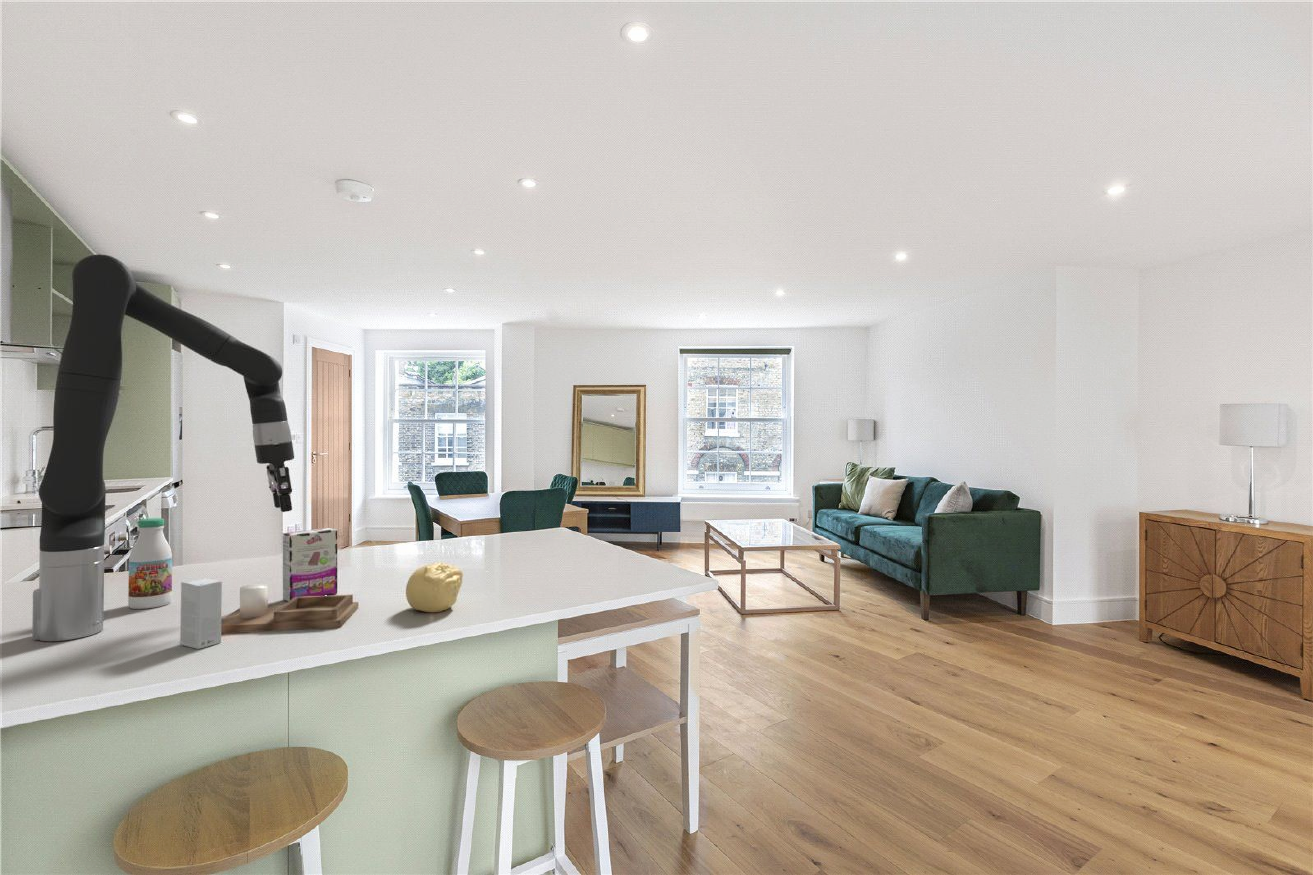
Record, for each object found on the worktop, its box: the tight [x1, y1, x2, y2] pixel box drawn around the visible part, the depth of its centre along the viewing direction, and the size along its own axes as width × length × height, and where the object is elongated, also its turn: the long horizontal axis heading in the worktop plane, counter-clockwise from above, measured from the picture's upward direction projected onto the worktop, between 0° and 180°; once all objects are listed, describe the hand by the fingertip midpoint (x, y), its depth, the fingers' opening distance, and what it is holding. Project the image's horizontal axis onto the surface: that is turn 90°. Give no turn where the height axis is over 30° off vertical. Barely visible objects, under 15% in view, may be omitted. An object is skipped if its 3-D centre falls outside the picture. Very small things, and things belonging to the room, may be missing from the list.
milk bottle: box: [127, 517, 173, 610], centre depth 139 cm, size 8×8×20 cm
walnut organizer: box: [221, 583, 359, 634], centre depth 130 cm, size 24×14×8 cm, turn 103°
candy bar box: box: [282, 527, 338, 603], centre depth 148 cm, size 11×5×16 cm, turn 143°
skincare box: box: [179, 577, 223, 650], centre depth 115 cm, size 6×4×12 cm
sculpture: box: [405, 561, 464, 613], centre depth 140 cm, size 12×12×11 cm
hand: (283, 509), depth 143 cm, fingers open, 8 cm apart
